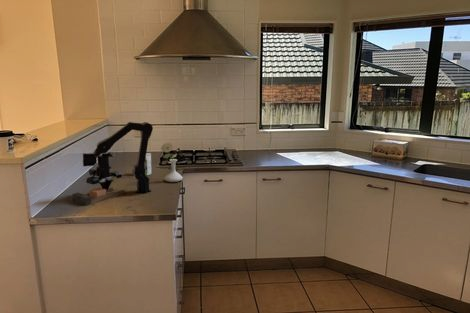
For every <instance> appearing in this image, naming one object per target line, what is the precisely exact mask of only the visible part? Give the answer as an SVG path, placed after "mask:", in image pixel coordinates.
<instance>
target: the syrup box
mask: <svg viewBox="0 0 470 313" xmlns="http://www.w3.org/2000/svg"><path fill="white" fill-rule="evenodd" d="M145 174H146V175H147V176H149V175H152V153H151V152H148V153H147V152H146V158H145Z"/></svg>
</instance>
